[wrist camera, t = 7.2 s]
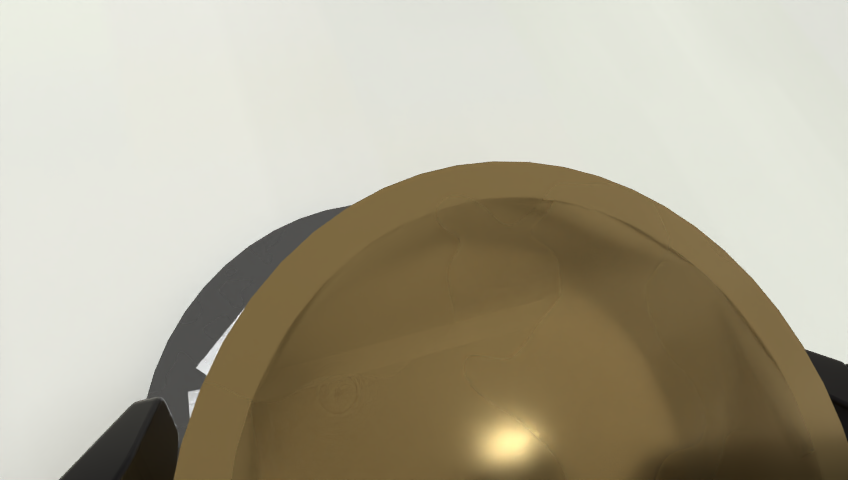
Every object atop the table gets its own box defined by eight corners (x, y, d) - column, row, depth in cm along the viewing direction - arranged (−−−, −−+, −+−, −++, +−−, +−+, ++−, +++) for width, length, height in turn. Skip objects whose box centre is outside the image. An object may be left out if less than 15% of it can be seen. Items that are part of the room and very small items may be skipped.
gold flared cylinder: (477, 507, 15) (988, 928, 3) (295, 518, 14) (67, 1184, 2) (469, 330, 17) (774, 180, 5) (308, 327, 16) (223, 138, 4)
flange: (645, 588, 16) (695, 620, 14) (164, 777, 13) (125, 863, 10) (523, 190, 21) (546, 164, 19) (139, 243, 17) (109, 220, 15)
